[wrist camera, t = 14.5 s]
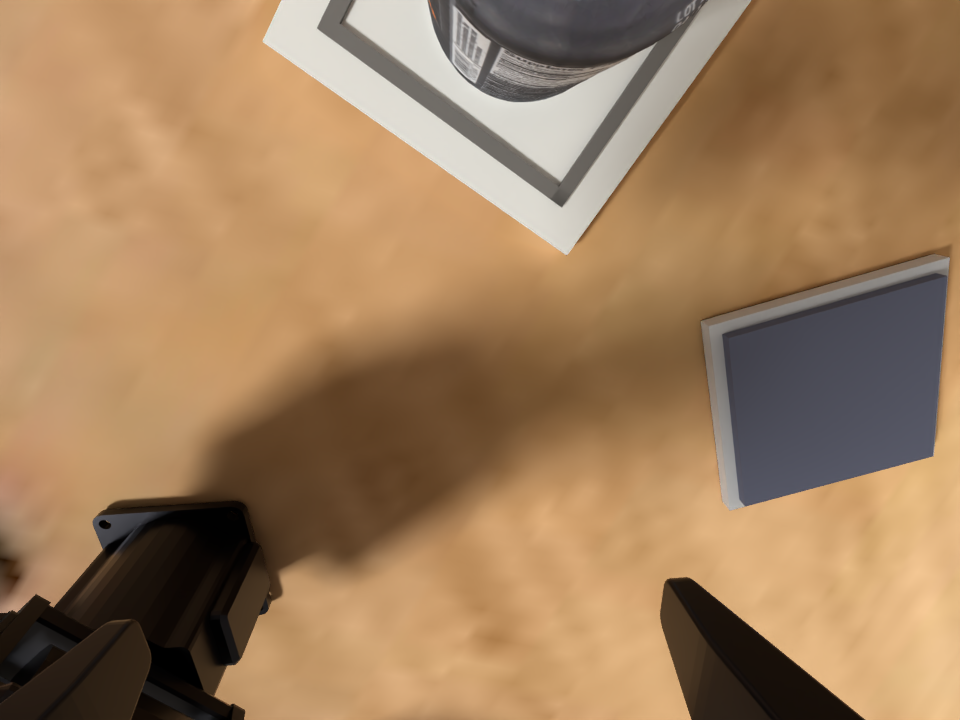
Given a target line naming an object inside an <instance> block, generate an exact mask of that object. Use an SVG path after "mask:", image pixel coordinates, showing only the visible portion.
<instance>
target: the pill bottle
mask: <svg viewBox="0 0 960 720" xmlns="http://www.w3.org/2000/svg"><path fill="white" fill-rule="evenodd" d="M427 1H428V6H429V11H430V15H431V20H432V24H433V28H434V31H435V34H436V36H437V39H438V41H439V43H440V45H441V48H442V50H443V51H444V53H445V55H446V56H447V58H448V59H449V61H450V62H451V64H452V65H453V66H454V68H455V69H456V70H457V72H458V73H459V74H460V75H461V76H462V77H463V78H464V79H465V80H466V81H467V82H468V83H470V84H471V85H473V86H474V87H475V88H477V89H478V90H480V91H481V92H483V93H485V94H487V95H489V96H492V97H494V98H497V99H501V100H505V101H509V102H534V101H540V100H545V99H548V98H551V97H553V96H556V95H559V94H561V93H563V92H565V91H567V90H569V89H570V88H572V87H574V86H576V85H578V84H579V83H581V82H583V81H585V80H587V79H589V78H591V77H593V76H595V75H596V74H598V73H600V72H603V71H605V70H607V69H609V68H611V67H613V66H615V65H617V64H619V63H621V62H623V61H625V60H627V59H628V58H630V57H632V56H633V55H635V54H636V53H638V52H640V51H642V50H644V49H646V48H648V47H650V46H652V45H654V44H655V43H656V42H657V41H659V40H661V39H663V38H664V37H666V36H667V35H669V34H670V33H672V32H673V31H675V30H676V29H677V28H678V27H680V26H681V25H683V24H684V23H685V22H686V21H687V20H689V19H690V18H691V17H692V16H693V15H694V14H695V13H696V12H697V11H698V10H699V9H700V8H701V7H702V6H703V5H704V4H705V3H706V2H707V1H708V0H427Z"/></svg>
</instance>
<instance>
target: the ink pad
mask: <svg viewBox="0 0 960 720" xmlns="http://www.w3.org/2000/svg"><path fill="white" fill-rule="evenodd" d="M949 260H950V257H946V256H941V255H937V254H932V255H928V256H925V257H921V258H918V259H914V260H911V261H907V262H904V263H900V264H897V265H894V266H890V267H887V268H883V269H880V270H876V271H873V272H869V273H866V274H862V275H859V276H855V277H852V278H848V279H845V280H841V281H838V282H834V283H831V284H827V285H824V286H820V287H817V288H813V289H810V290H806V291H803V292H799V293H796V294H793V295H789V296H786V297H782V298H779V299H775V300H772V301H768V302H765V303H761V304H758V305H754V306H751V307H747V308H744V309H740V310H737V311H733V312H730V313H726V314H723V315H719V316H716V317H712V318H709V319H705V320H702V321H701V328H702V337H703V345H704V353H705V362H706V370H707V378H708V387H709V395H710V403H711V411H712V420H713V428H714V436H715V445H716V453H717V461H718V469H719V478H720V486H721V494H722V501H723V503H724V504H725V505H726V506H727V508H728V509H729V510H734V509H738V508H741V507H745V506H749V505H753V504H756V503H760V502H764V501H768V500H771V499H775V498H779V497H783V496H786V495H790V494H794V493H798V492H801V491H805V490H809V489H813V488H816V487H820V486H824V485H827V484H831V483H835V482H839V481H842V480H846V479H850V478H854V477H857V476H861V475H865V474H869V473H872V472H876V471H880V470H884V469H887V468H891V467H895V466H899V465H902V464H906V463H910V462H914V461H917V460H921V459H925V458H929V457H932V456H934V447H935V434H936V422H937V409H938V397H939V384H940V372H941V360H942V347H943V335H944V322H945V310H946V297H947V285H948V272H949Z"/></svg>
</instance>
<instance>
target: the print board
mask: <svg viewBox="0 0 960 720" xmlns="http://www.w3.org/2000/svg"><path fill="white" fill-rule="evenodd" d="M750 2H751V0H708V1H707V2H706V3H705V4H704V5H703V6H702V7H701V8H700V9H699V10H698V11H697V12H696V13H695V14H694V15H693V16H692V17H691V18H690V19H689V20H687V21H686V22H685V23H684V24H683V25H681V26H680V27H678V28H677V29H676V30H675V31H673V32H672V33H670V34H669V35H667V36H666V37H664V38H663V39H661V40H659V41H657V42H656V43H655V44H654V45H652V46H650V47H648V48H646V49H644V50H642V51H640V52H638V53H636V54H635V55H633V56H632V57H630V58H628V59H627V60H625V61H623V62H621V63H619V64H617V65H615V66H613V67H611V68H609V69H607V70H605V71H603V72H600V73H598V74H596V75H595V76H593V77H591V78H589V79H587V80H585V81H583V82H581V83H579V84H578V85H576V86H574V87H572V88H570V89H569V90H567V91H565V92H563V93H561V94H559V95H556V96H553V97H551V98H548V99H545V100H540V101H534V102H509V101H505V100H501V99H497V98H494V97H492V96H489V95H487V94H485V93H483V92H481V91H480V90H478V89H477V88H475V87H474V86H473V85H471V84H470V83H468V82H467V81H466V80H465V79H464V78H463V77H462V76H461V75H460V74H459V73H458V72H457V70H456V69H455V68H454V66H453V65H452V64H451V62H450V61H449V59H448V58H447V56H446V55H445V53H444V51H443V50H442V48H441V45H440V43H439V41H438V39H437V36H436V34H435V31H434V28H433V24H432V20H431V15H430V11H429V6H428V1H427V0H281V2H280V4H279V7H278V9H277V11H276V13H275V15H274V17H273V20H272V22H271V24H270V26H269V28H268V31H267V33H266V35H265V37H264V39H263V42H264V43H265V44H266V45H268V46H269V47H271V48H272V49H274V50H275V51H276V52H278V53H279V54H281V55H282V56H283V57H285V58H286V59H288V60H289V61H291V62H292V63H293V64H295V65H296V66H298V67H299V68H301V69H302V70H303V71H305V72H306V73H308V74H309V75H311V76H312V77H313V78H315V79H316V80H318V81H319V82H320V83H322V84H323V85H325V86H326V87H328V88H329V89H330V90H332V91H333V92H335V93H336V94H338V95H339V96H340V97H342V98H343V99H345V100H346V101H348V102H349V103H350V104H352V105H353V106H355V107H356V108H357V109H359V110H360V111H362V112H363V113H365V114H366V115H367V116H369V117H370V118H372V119H373V120H375V121H376V122H377V123H379V124H380V125H382V126H383V127H385V128H386V129H387V130H389V131H390V132H392V133H393V134H394V135H396V136H397V137H399V138H400V139H402V140H403V141H404V142H406V143H407V144H409V145H410V146H412V147H413V148H414V149H416V150H417V151H419V152H420V153H422V154H423V155H424V156H426V157H427V158H429V159H430V160H431V161H433V162H434V163H436V164H437V165H439V166H440V167H441V168H443V169H444V170H446V171H447V172H449V173H450V174H451V175H453V176H454V177H456V178H457V179H459V180H460V181H461V182H463V183H464V184H466V185H467V186H468V187H470V188H471V189H473V190H474V191H476V192H477V193H478V194H480V195H481V196H483V197H484V198H486V199H487V200H488V201H490V202H491V203H493V204H494V205H496V206H497V207H498V208H500V209H501V210H503V211H504V212H505V213H507V214H508V215H510V216H511V217H513V218H514V219H515V220H517V221H518V222H520V223H521V224H523V225H524V226H525V227H527V228H528V229H530V230H531V231H533V232H534V233H535V234H537V235H538V236H540V237H541V238H542V239H544V240H545V241H547V242H548V243H550V244H551V245H552V246H554V247H555V248H557V249H558V250H560V251H561V252H562V253H564V254H565V255H568V253H569V252H570V251H571V249H572V248H573V246H574V245H575V244H576V242H577V241H578V239H579V238H580V237H581V235H582V234H583V233H584V231H585V230H586V228H587V227H588V226H589V224H590V223H591V222H592V220H593V219H594V217H595V216H596V215H597V213H598V212H599V210H600V209H601V208H602V206H603V205H604V204H605V202H606V201H607V199H608V198H609V197H610V195H611V194H612V192H613V191H614V190H615V188H616V187H617V186H618V184H619V183H620V181H621V180H622V179H623V177H624V176H625V175H626V173H627V172H628V170H629V169H630V168H631V166H632V165H633V163H634V162H635V161H636V159H637V158H638V157H639V155H640V154H641V152H642V151H643V150H644V148H645V147H646V145H647V144H648V143H649V141H650V140H651V139H652V137H653V136H654V134H655V133H656V132H657V130H658V129H659V128H660V126H661V125H662V123H663V122H664V121H665V119H666V118H667V116H668V115H669V114H670V112H671V111H672V110H673V108H674V107H675V105H676V104H677V103H678V101H679V100H680V98H681V97H682V96H683V94H684V93H685V92H686V90H687V89H688V87H689V86H690V85H691V83H692V82H693V81H694V79H695V78H696V76H697V75H698V74H699V72H700V71H701V69H702V68H703V67H704V65H705V64H706V63H707V61H708V60H709V58H710V57H711V56H712V54H713V53H714V51H715V50H716V49H717V47H718V46H719V45H720V43H721V42H722V40H723V39H724V38H725V36H726V35H727V34H728V32H729V31H730V29H731V28H732V27H733V25H734V24H735V22H736V21H737V20H738V18H739V17H740V16H741V14H742V13H743V11H744V10H745V9H746V7H747V6H748V4H749V3H750Z"/></svg>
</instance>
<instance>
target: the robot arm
mask: <svg viewBox="0 0 960 720" xmlns="http://www.w3.org/2000/svg"><path fill="white" fill-rule="evenodd" d="M231 511H233V512H236V513H237V514H238V515H236V514H233V513H232V512H231ZM106 520H107V521H108V522H110V523H108V522H107V521H106ZM93 526H94V529H95V531H96V534H97V536H98V538H99V541H100V543H101V546H102V548H103V551H102V552H101V553H100V554H99V555H98V556H97V558H96V559H95V560H94V561H93V562H92V563H91V565H90V566H89V567H88V568H87V569H86V570H85V572H84V573H83V574H82V575H81V576H80V577H79V579H78V580H77V581H76V582H75V583H74V584H73V586H72V587H71V588H70V589H69V590H68V591H67V593H66V594H65V595H64V596H63V597H62V598H61V600H60V601H59V602H58V603H57V604H56V605H55V607H54V608H53V607H51V606H50V605H49V604H50V603H51V602H49V601H47V600H46V599H44V598H42V597H40V596H38V595H37V594H36V595H35V596H34V597H33V598H32V599H31V600H30V601H29V602H27V603H26V604H25V605H24V606H23V607H22V608H21V609H20V610H19V611H18V612H17V613H16V612H15V611H13V610H12V611H11V612H10V611H9V612H8V613H0V720H244V716H245V710H244V709H242V708H240V707H238V706H237V705H235V704H231V705H229V704H227V703H225V702H223V701H222V700H220V699H218V698H216V697H214V695H215V693H216V691H217V688H218V686H219V683H220V681H221V679H222V676H223V674H224V672H225V669H226V667H227V666H228V665H236V664H237V663H238V661H239V660H240V659H241V658H242V655H243V653H244V650H245V648H246V645H247V643H248V640H249V638H250V635H251V633H252V630H253V628H254V626H255V623H256V621H257V618H258V616H259V615H262V614H265V613H266V612H267V611H268V609H269V607H270V604H271V598H270V594H269V588H270V580H269V576H268V572H267V568H266V564H265V561H264V557H263V553H262V549H261V546H260V545H259V544H258V543H257V542H256V540H255V536H254V533H253V529H252V525H251V521H250V517H249V513H248V509H247V507H246V506H245V505H244V504H243V503H241V502H238V501H227V502H212V503H197V504H182V505H167V506H152V507H137V508H122V509H107V510H103V511H101V512H100V513H99V514H98V515H97V516H96V517H95V518H94V520H93ZM660 619H661V624H662V628H663V632H664V635H665V638H666V641H667V644H668V647H669V651H670V654H671V657H672V660H673V663H674V667H675V670H676V673H677V676H678V679H679V682H680V686H681V689H682V692H683V695H684V698H685V701H686V705H687V708H688V711H689V714H690V716H691V719H692V720H865V719H864V718H863V717H861V716H860V715H859V714H858V713H856V712H855V711H854V710H853V709H851V708H850V707H849V706H848V705H847V704H845V703H844V702H843V701H842V700H840V699H839V698H838V697H837V696H835V695H834V694H833V693H832V692H830V691H829V690H828V689H827V688H826V687H824V686H823V685H822V684H821V683H819V682H818V681H817V680H816V679H814V678H813V677H812V676H811V675H810V674H808V673H807V672H806V671H805V670H803V669H802V668H801V667H800V666H798V665H797V664H796V663H795V662H794V661H792V660H791V659H790V658H789V657H787V656H786V655H785V654H784V653H782V652H781V651H780V650H779V649H778V648H776V647H775V646H774V645H773V644H771V643H770V642H769V641H768V640H766V639H765V638H764V637H763V636H762V635H760V634H759V633H758V632H757V631H755V630H754V629H753V628H752V627H750V626H749V625H748V624H747V623H746V622H744V621H743V620H742V619H741V618H739V617H738V616H737V615H736V614H734V613H733V612H732V611H731V610H730V609H728V608H727V607H726V606H725V605H723V604H722V603H721V602H720V601H718V600H717V599H716V598H715V597H713V596H712V595H711V594H710V593H709V592H707V591H706V590H705V589H704V588H702V587H701V586H700V585H699V584H697V583H696V582H695V581H694V580H692V579H690V578H687V577H683V578H670V579H667V580H666V581H665V584H664V589H663V596H662V603H661V610H660Z"/></svg>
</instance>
